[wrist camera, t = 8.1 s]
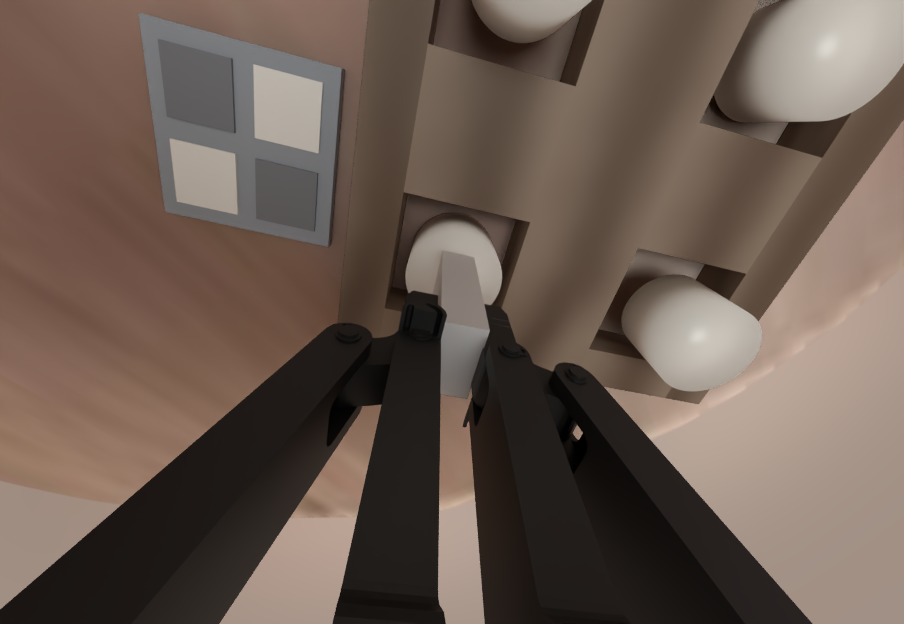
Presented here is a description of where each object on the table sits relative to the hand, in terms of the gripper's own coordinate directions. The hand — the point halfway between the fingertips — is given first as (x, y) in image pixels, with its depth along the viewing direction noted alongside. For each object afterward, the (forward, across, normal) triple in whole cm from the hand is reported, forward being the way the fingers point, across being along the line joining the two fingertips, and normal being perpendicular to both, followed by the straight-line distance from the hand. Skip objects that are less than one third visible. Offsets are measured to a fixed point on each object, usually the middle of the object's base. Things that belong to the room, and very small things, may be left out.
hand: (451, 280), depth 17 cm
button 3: (+2, +13, 0) cm, 13 cm away
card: (+6, -12, +3) cm, 13 cm away
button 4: (+5, +13, +12) cm, 18 cm away
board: (+6, +6, +6) cm, 10 cm away
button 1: (+5, 0, 0) cm, 5 cm away
